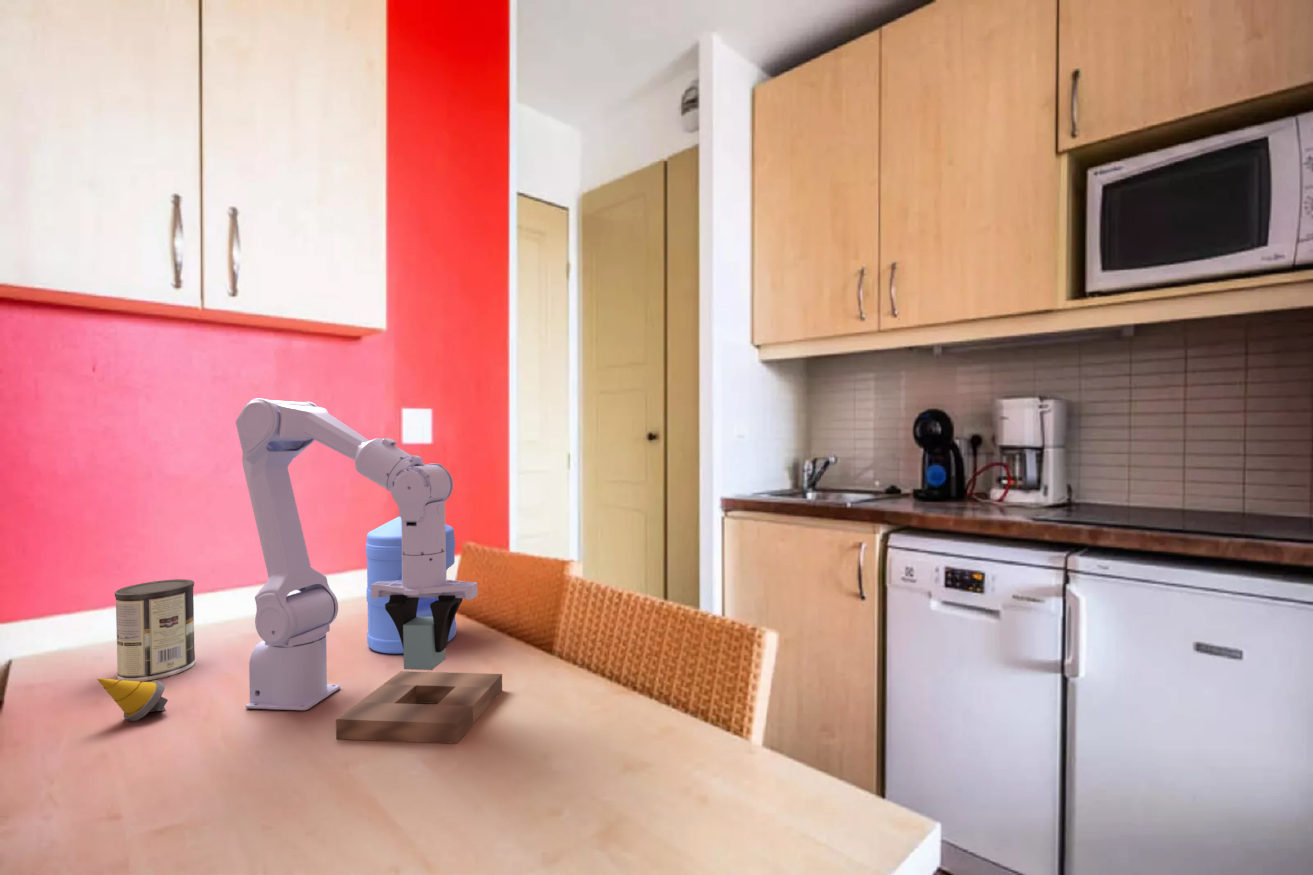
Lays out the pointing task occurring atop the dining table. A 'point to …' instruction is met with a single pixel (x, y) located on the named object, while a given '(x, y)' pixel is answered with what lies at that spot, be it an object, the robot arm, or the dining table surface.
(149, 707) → the drill bit
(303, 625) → the robot arm
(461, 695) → the block with rectangular hole
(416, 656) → the pale blue box
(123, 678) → the coffee can
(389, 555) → the water jug
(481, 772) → the dining table surface
